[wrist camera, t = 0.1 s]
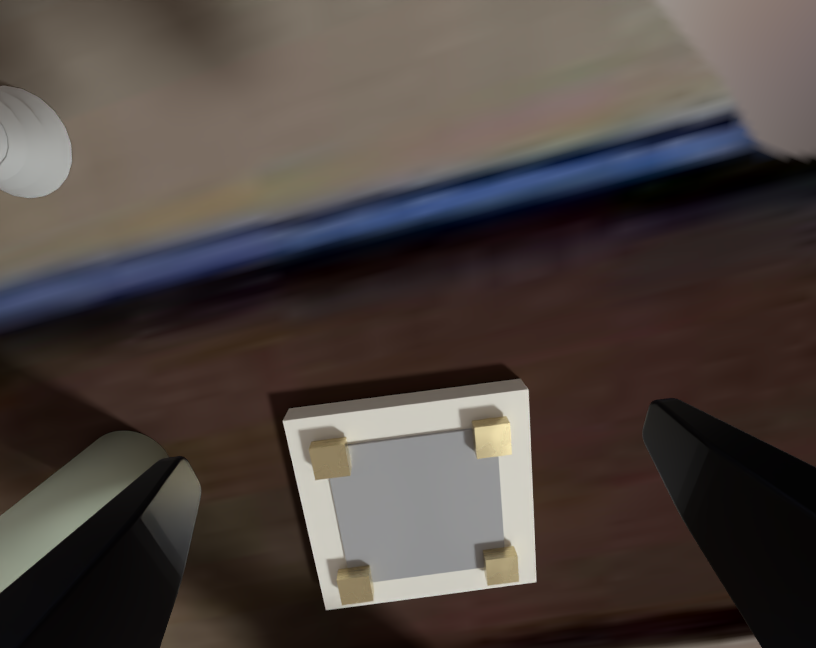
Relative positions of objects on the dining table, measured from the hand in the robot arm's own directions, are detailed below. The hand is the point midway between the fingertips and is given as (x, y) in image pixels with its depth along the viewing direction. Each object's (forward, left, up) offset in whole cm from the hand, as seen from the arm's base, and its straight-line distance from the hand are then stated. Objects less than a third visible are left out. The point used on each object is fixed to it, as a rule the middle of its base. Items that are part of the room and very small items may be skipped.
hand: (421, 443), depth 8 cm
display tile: (-10, -8, -15) cm, 20 cm away
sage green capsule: (-18, +8, -15) cm, 25 cm away
